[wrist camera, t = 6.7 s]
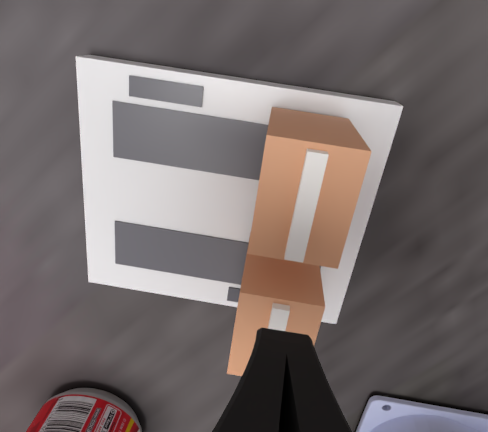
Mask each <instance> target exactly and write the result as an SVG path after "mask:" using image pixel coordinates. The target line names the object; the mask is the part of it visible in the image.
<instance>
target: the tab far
mask: <svg viewBox="0 0 488 432" xmlns="http://www.w3.org/2000/svg"><path fill="white" fill-rule="evenodd" d="M250 235H251V232H250ZM249 241H250V238H249ZM248 247H249V244H248ZM247 253H248V249H247ZM324 310H325V301H324V294H323V287H322V280H321V272H320V266H318V265H312V264H306V263H300V262H294V261H288V260H282V259H276V258H270V257H264V256H258V255H252V254H247V255H246V260H245V266H244V271H243V277H242V282H241V288H240V294H239V300H238V306H237V313H236V319H235V325H234V332H233V338H232V344H231V351H230V357H229V363H228V370H227V374H232V375H238V376H242V375H243V373H244V371H245V369H246V366H247V364H248V361H249V359H250V356H251V353H252V350H253V347H254V344H255V340H256V334H257V330H258V329H260V328H268V329H274V330H281V331H287V332H293V333H299V334H306V335H309V337H310V338H311V339H312V342H313V345H315V341H316V338H317V334H318V331H319V327H320V324H321V320H322V317H323V313H324Z"/></svg>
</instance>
